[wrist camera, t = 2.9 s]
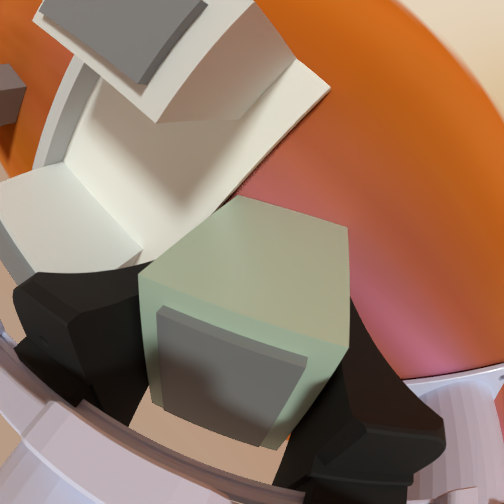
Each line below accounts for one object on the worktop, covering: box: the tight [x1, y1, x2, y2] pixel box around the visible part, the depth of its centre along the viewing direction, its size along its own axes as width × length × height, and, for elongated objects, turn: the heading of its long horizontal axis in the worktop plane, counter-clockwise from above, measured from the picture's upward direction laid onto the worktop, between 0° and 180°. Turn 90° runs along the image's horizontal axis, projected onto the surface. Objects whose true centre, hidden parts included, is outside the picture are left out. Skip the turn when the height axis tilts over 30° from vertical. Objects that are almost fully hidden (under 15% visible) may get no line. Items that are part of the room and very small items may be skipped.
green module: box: [138, 195, 350, 450], centre depth 9 cm, size 4×6×7 cm
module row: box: [0, 0, 331, 286], centre depth 9 cm, size 10×14×6 cm
